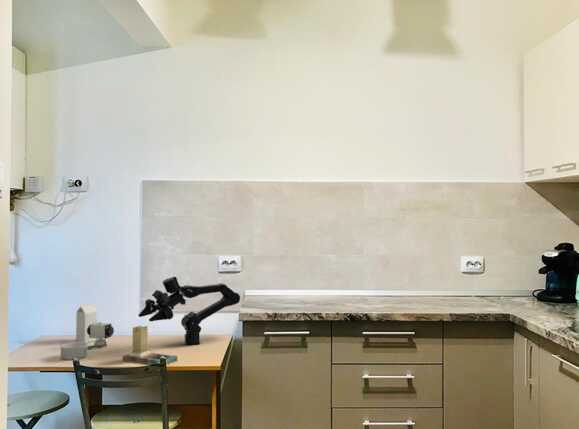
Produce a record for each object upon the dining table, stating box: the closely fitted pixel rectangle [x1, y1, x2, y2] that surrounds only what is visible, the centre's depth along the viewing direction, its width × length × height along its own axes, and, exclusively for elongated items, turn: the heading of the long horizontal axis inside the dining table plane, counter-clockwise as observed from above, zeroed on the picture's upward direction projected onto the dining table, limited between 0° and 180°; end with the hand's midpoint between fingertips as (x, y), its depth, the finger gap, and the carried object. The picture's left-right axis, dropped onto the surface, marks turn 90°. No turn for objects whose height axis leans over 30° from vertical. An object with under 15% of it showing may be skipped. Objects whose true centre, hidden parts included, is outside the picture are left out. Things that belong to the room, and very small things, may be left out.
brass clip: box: [132, 325, 148, 354], centre depth 213 cm, size 4×4×11 cm
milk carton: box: [75, 302, 98, 344], centre depth 247 cm, size 7×7×19 cm
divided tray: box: [122, 350, 178, 365], centre depth 211 cm, size 22×9×3 cm, turn 67°
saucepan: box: [59, 341, 108, 361], centre depth 217 cm, size 12×20×6 cm, turn 92°
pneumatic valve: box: [87, 321, 115, 349], centre depth 235 cm, size 6×12×12 cm, turn 79°
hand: (144, 318), depth 225 cm, fingers open, 9 cm apart
